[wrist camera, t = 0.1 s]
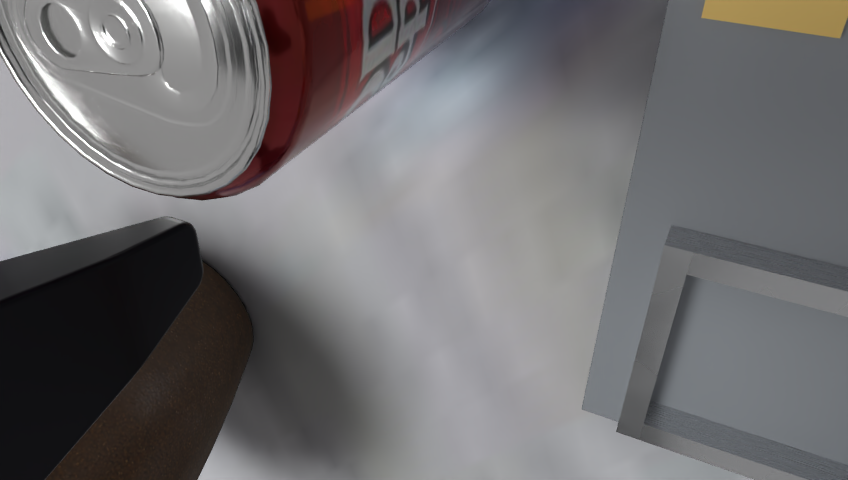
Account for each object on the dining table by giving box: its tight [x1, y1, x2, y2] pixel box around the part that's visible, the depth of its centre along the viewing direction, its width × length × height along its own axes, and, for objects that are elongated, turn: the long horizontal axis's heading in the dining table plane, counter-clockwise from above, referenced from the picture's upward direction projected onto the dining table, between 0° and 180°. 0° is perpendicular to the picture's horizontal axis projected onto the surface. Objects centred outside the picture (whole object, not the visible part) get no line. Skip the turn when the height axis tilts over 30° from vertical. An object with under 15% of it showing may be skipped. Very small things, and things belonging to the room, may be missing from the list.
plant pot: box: [45, 262, 253, 480], centre depth 31 cm, size 15×15×16 cm
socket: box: [616, 225, 848, 480], centre depth 22 cm, size 8×8×1 cm
